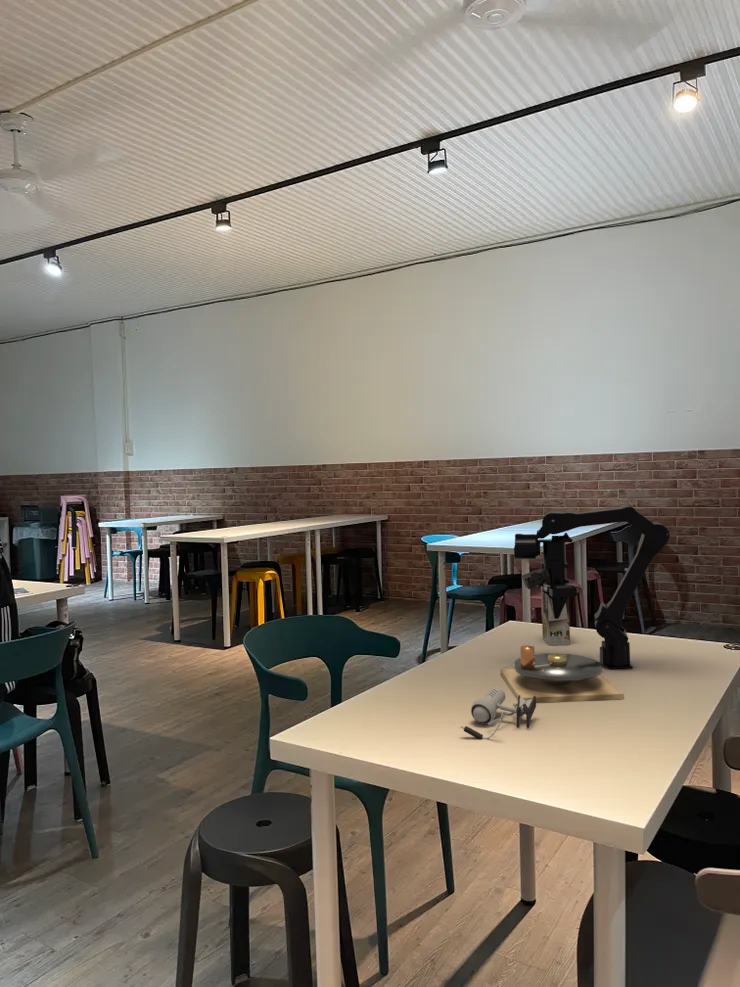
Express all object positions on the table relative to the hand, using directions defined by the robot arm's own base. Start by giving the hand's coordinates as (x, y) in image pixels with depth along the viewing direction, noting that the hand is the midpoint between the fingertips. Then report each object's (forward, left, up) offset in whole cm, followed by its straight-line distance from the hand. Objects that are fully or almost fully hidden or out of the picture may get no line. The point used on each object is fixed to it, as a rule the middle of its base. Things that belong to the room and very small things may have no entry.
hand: (556, 618), depth 192 cm
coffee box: (-6, -24, -12) cm, 28 cm away
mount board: (+5, +19, -12) cm, 23 cm away
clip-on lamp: (+24, +44, -12) cm, 52 cm away
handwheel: (+5, +19, -8) cm, 21 cm away
